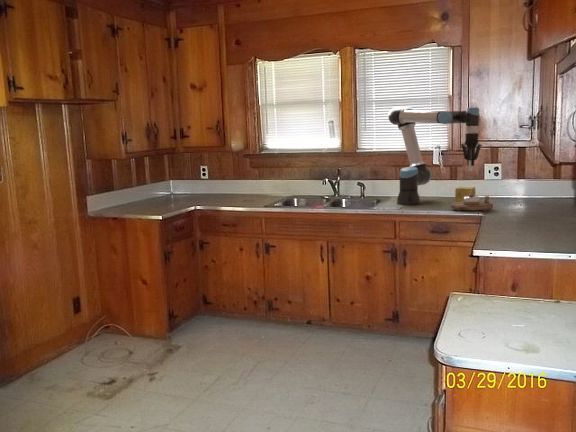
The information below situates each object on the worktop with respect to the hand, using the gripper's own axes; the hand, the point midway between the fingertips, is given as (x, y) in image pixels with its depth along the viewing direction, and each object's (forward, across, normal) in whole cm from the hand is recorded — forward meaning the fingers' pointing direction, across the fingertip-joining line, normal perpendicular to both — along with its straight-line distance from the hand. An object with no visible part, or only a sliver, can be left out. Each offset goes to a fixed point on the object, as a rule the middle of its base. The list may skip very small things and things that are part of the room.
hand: (470, 170), depth 344 cm
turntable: (+20, +9, -15) cm, 26 cm away
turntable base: (+22, +9, -15) cm, 28 cm away
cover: (+18, +9, -15) cm, 25 cm away
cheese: (+22, -8, +9) cm, 25 cm away
